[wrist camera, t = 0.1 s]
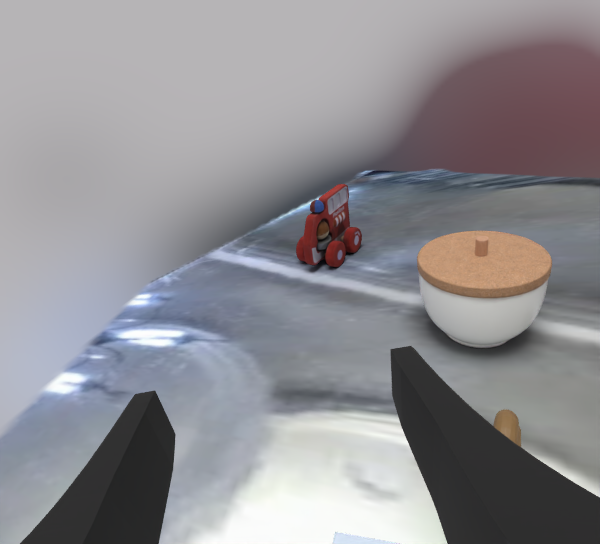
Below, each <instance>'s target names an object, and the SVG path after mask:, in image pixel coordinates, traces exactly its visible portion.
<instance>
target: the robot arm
mask: <svg viewBox="0 0 600 544" xmlns="http://www.w3.org/2000/svg"><path fill="white" fill-rule="evenodd" d="M391 371H392V396H393V399H394V403H395V406H396V410H397V413H398V416H399V420H400V423H401V426H402V429H403V431H404V434H405V436H406V438H407V441H408V443H409V445H410V448H411V450H412V453H413V455H414V457H415V460H416V462H417V464H418V467H419V469H420V471H421V474H422V476H423V478H424V481H425V483H426V485H427V488H428V490H429V492H430V495H431V497H432V500H433V502H434V505H435V507H436V510H437V513H438V516H439V519H440V522H441V525H442V528H443V531H444V534H445V537H446V540H447V543H448V544H600V498H599V497H598V496H596V495H594V494H593V493H591V492H589V491H587V490H586V489H584V488H582V487H581V486H579V485H577V484H575V483H574V482H572V481H571V480H569V479H567V478H566V477H564V476H563V475H561V474H560V473H558V472H557V471H555V470H554V469H552V468H550V467H549V466H547V465H546V464H544V463H543V462H541V461H540V460H538V459H537V458H535V457H534V456H532V455H531V454H529V453H528V452H527V451H525V450H524V449H522V448H521V447H520V446H518V445H517V444H515V443H514V442H513V441H512V440H510V439H509V438H508V437H506V436H505V435H504V434H502V433H501V432H500V431H499V430H497V429H496V428H495V427H494V426H492V425H491V424H490V423H489V422H488V421H486V420H485V419H484V418H483V417H482V416H481V415H479V414H478V413H477V412H476V411H475V410H474V409H472V408H471V407H470V406H469V405H468V404H467V403H466V402H465V401H464V400H463V399H462V398H461V397H460V396H459V395H457V394H456V393H455V392H454V391H453V390H452V389H451V388H450V387H449V386H448V385H447V384H446V383H445V382H444V381H443V380H442V379H441V378H440V377H439V376H438V375H437V374H436V372H435V371H434V370H433V369H432V368H431V367H430V366H429V365H428V364H427V363H426V362H425V361H424V359H423V358H422V357H421V356H420V355H419V354H418V352H417V351H416V350H415V349H414V348H413V347H411V346H408V347H402V348H396V349H391ZM174 450H175V432H174V430H173V428H172V426H171V424H170V421H169V419H168V417H167V415H166V413H165V411H164V409H163V406H162V404H161V402H160V400H159V398H158V396H157V394H156V391H151V392H145V393H139V394H135V395H134V397H133V398H132V399H131V401H130V402H129V404H128V405H127V407H126V408H125V410H124V411H123V413H122V414H121V416H120V417H119V419H118V420H117V422H116V423H115V425H114V426H113V428H112V429H111V430H110V432H109V433H108V435H107V436H106V438H105V439H104V441H103V442H102V444H101V445H100V446H99V448H98V449H97V451H96V452H95V453H94V455H93V456H92V458H91V459H90V461H89V462H88V463H87V465H86V466H85V467H84V469H83V470H82V471H81V473H80V474H79V475H78V476H77V478H76V479H75V480H74V482H73V483H72V484H71V486H70V487H69V488H68V490H67V491H66V492H65V493H64V495H63V496H62V497H61V498H60V499H59V501H58V502H57V503H56V504H55V506H54V507H53V508H52V509H51V510H50V511H49V513H48V514H47V515H46V516H45V517H44V518H43V519H42V521H41V522H40V523H39V524H38V525H37V526H36V527H35V528H34V530H33V531H32V532H31V533H30V534H29V535H28V536H27V537H26V538H25V539H24V540H23V541H22V542H21V543H20V544H159V539H160V533H161V528H162V523H163V518H164V513H165V508H166V503H167V498H168V493H169V487H170V482H171V477H172V471H173V463H174Z"/></svg>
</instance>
